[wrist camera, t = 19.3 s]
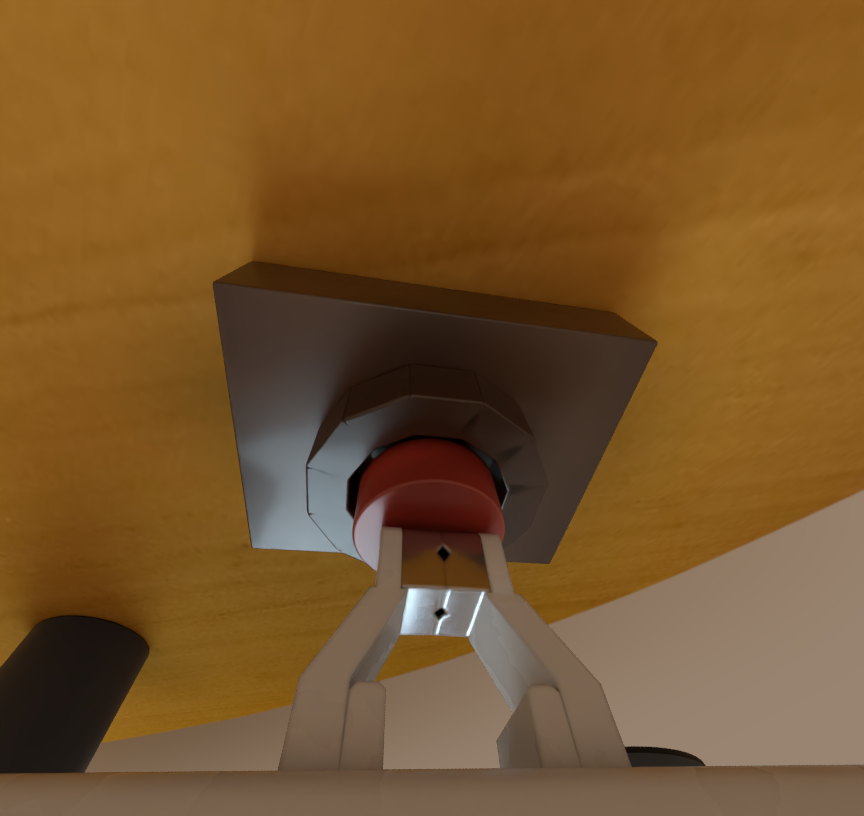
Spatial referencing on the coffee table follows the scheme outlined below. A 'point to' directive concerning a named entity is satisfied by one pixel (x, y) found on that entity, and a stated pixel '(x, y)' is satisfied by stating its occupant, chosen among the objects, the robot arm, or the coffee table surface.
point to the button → (425, 493)
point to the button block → (414, 396)
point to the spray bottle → (64, 692)
